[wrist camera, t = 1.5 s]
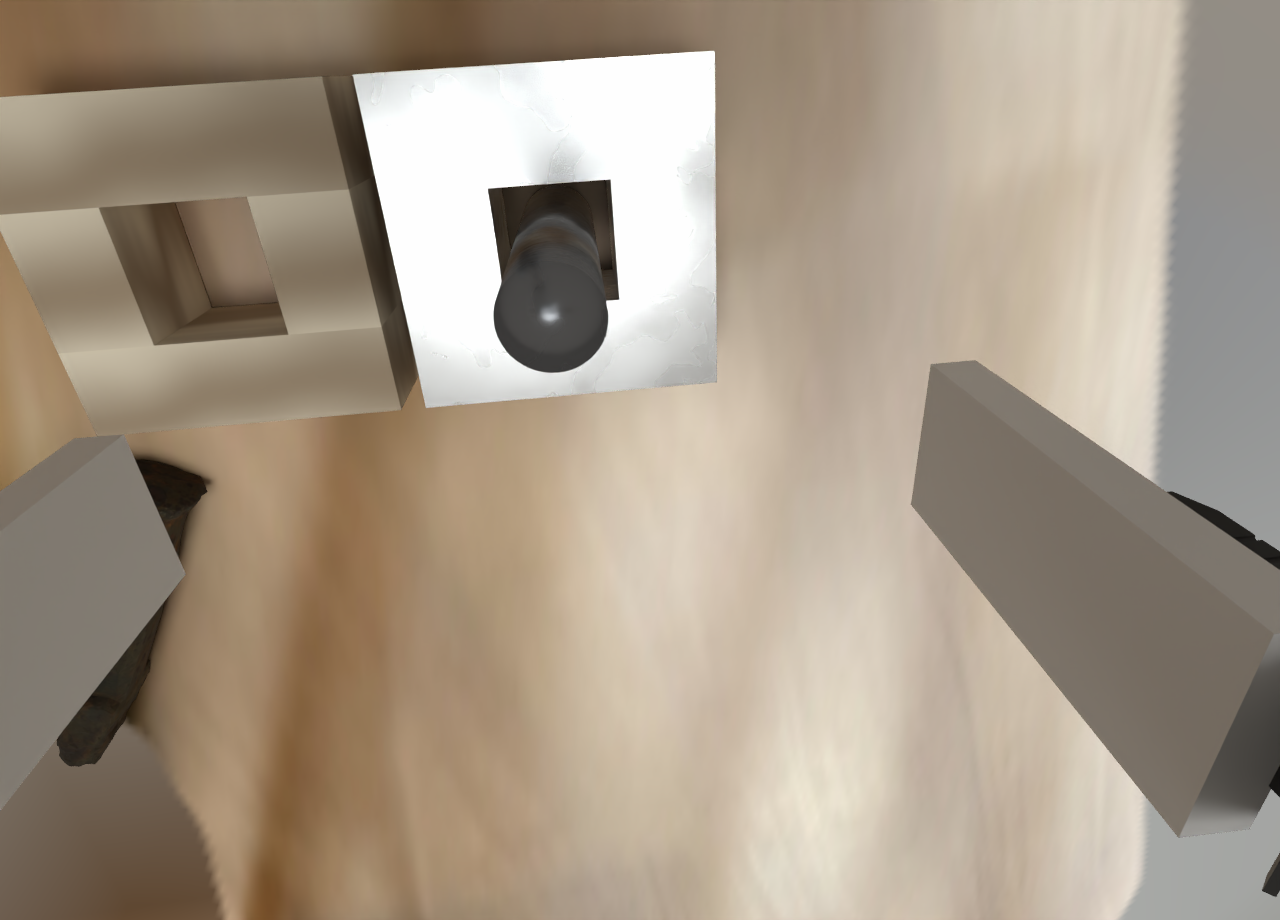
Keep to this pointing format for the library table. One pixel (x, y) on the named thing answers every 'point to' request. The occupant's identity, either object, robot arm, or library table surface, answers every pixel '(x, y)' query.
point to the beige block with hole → (165, 266)
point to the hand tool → (124, 680)
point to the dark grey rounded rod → (553, 286)
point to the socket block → (546, 154)
